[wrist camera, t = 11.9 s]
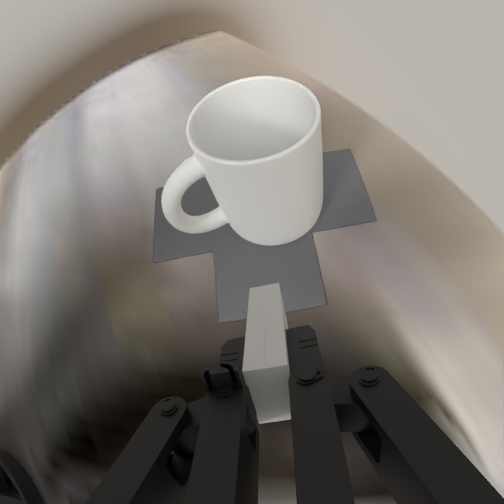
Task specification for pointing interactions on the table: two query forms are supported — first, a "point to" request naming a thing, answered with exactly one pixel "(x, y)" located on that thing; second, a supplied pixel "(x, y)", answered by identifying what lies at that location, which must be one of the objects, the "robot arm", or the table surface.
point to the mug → (253, 161)
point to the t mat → (262, 256)
